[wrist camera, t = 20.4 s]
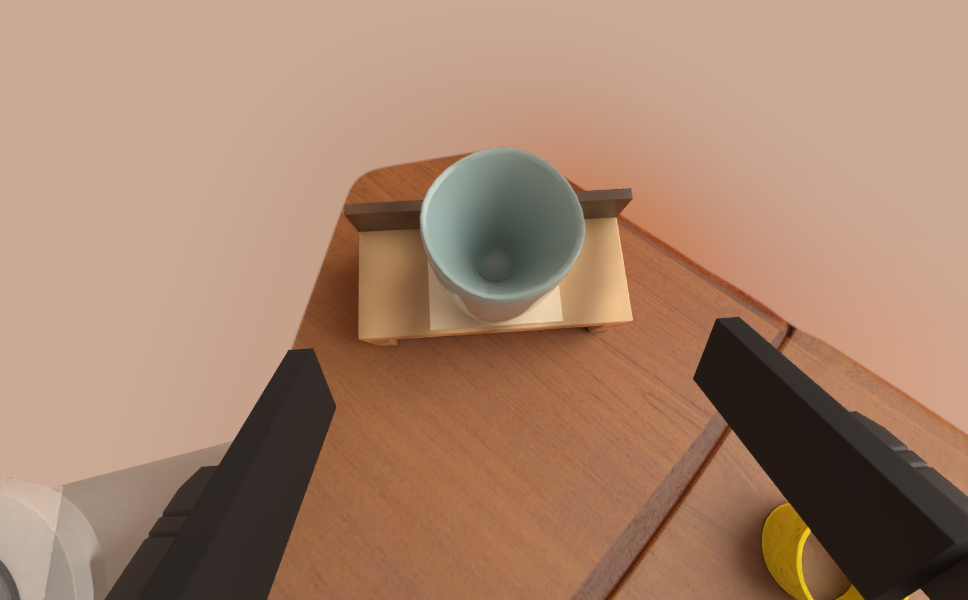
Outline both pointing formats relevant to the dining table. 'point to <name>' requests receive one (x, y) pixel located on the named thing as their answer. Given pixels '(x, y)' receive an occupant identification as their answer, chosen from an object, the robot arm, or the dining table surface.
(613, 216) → the shelf
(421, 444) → the dining table surface
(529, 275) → the cup
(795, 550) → the bracelet
